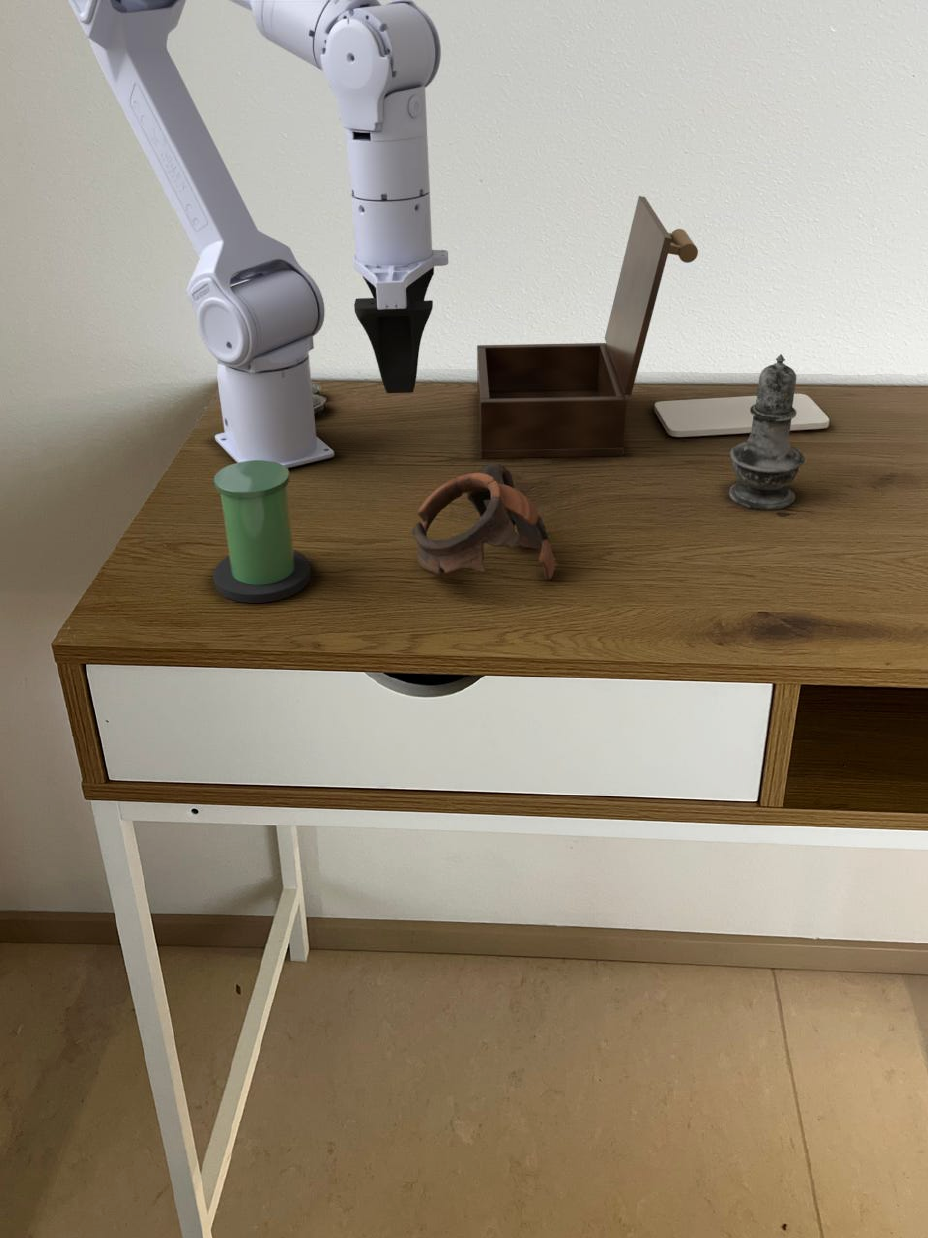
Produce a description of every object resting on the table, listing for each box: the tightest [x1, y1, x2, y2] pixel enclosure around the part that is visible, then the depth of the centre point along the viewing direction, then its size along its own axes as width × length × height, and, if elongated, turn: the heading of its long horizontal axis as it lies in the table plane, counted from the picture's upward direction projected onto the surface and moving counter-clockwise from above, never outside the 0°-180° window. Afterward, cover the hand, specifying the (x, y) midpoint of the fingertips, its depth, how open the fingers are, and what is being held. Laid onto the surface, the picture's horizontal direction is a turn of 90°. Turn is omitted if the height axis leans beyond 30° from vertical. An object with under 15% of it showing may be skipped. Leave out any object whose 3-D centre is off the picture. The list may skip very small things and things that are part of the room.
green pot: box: [213, 460, 295, 585], centre depth 81 cm, size 5×5×8 cm
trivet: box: [213, 549, 312, 604], centre depth 84 cm, size 7×7×1 cm
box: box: [476, 342, 628, 459], centre depth 106 cm, size 13×15×5 cm
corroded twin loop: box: [311, 381, 327, 415], centre depth 111 cm, size 5×8×1 cm, turn 13°
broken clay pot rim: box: [411, 462, 556, 581], centre depth 84 cm, size 12×10×8 cm
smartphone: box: [653, 393, 830, 438], centre depth 107 cm, size 7×1×15 cm
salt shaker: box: [728, 354, 805, 511], centre depth 91 cm, size 6×6×12 cm
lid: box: [604, 195, 699, 397], centre depth 101 cm, size 13×15×4 cm
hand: (401, 373), depth 90 cm, fingers open, 7 cm apart
